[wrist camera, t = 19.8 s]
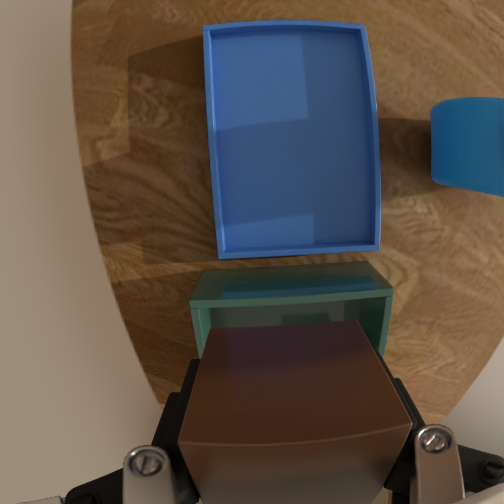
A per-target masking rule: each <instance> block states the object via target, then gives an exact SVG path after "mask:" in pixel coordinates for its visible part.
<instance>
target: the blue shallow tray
mask: <svg viewBox="0 0 504 504" xmlns="http://www.w3.org/2000/svg"><path fill="white" fill-rule="evenodd" d="M203 52H204V75H205V95H206V112H207V128H208V143H209V157H210V171H211V183H212V195H213V207H214V218H215V229H216V240H217V250H218V259H233V258H252V257H271V256H290V255H308V254H326V253H343V252H361V251H378V250H379V246H380V245H379V244H380V220H381V171H380V145H379V129H378V116H377V105H376V95H375V86H374V78H373V71H372V63H371V57H370V51H369V45H368V39H367V33H366V28H365V25H360V24H352V23H342V22H330V21H312V20H264V21H246V22H234V23H224V24H215V25H207V26H203Z"/></svg>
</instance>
